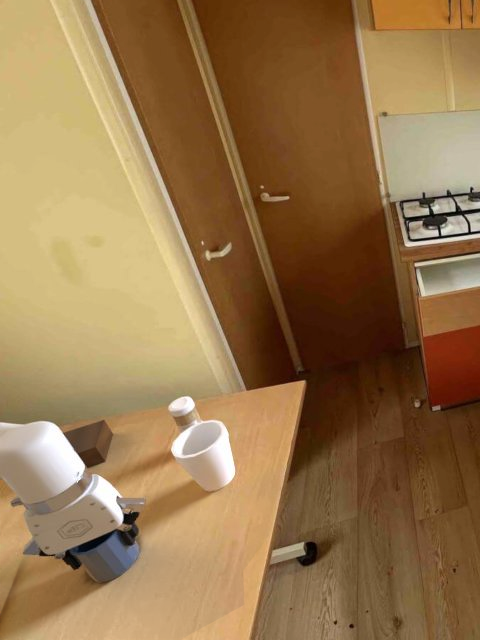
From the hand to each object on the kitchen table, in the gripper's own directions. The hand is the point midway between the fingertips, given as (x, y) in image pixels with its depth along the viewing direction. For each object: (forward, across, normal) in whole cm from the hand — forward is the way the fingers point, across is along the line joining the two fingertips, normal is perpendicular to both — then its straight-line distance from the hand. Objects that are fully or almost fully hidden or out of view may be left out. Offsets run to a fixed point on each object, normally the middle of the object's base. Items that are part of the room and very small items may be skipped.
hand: (106, 549), depth 77 cm
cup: (+4, 0, 0) cm, 4 cm away
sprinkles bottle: (+4, +12, +23) cm, 26 cm away
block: (+4, -11, +33) cm, 35 cm away
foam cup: (+4, +16, +10) cm, 19 cm away
